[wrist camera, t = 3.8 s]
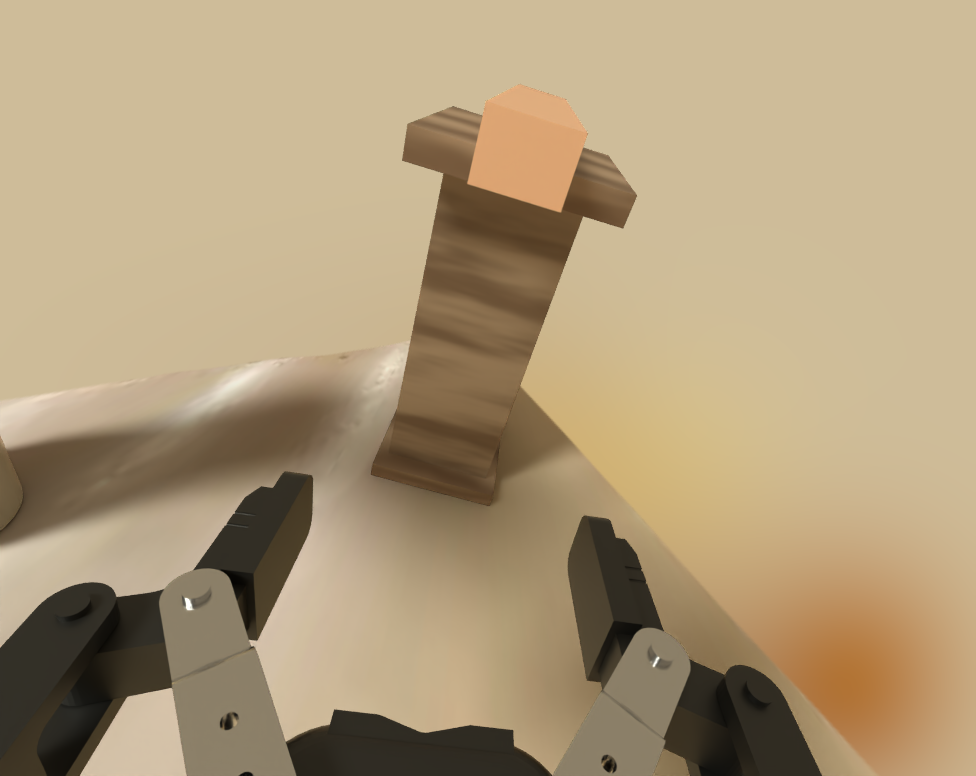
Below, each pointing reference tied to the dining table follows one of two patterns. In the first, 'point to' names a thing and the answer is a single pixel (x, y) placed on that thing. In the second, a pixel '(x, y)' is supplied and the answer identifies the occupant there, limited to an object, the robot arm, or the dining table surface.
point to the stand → (480, 307)
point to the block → (528, 147)
